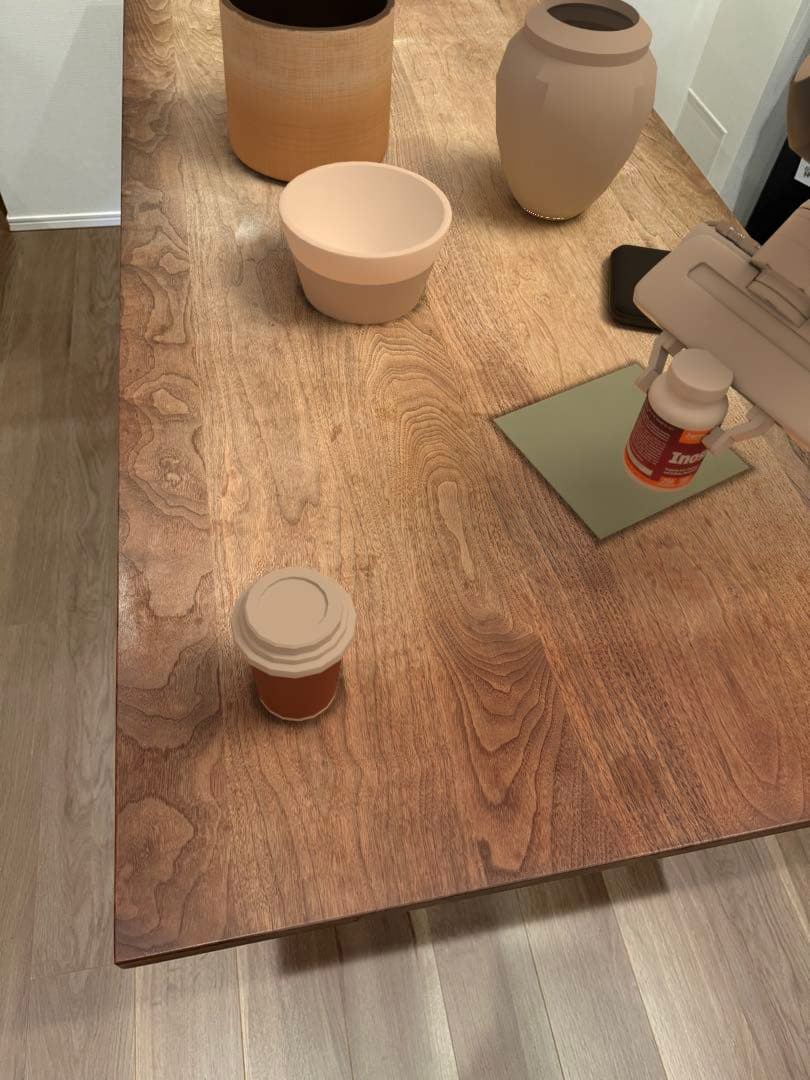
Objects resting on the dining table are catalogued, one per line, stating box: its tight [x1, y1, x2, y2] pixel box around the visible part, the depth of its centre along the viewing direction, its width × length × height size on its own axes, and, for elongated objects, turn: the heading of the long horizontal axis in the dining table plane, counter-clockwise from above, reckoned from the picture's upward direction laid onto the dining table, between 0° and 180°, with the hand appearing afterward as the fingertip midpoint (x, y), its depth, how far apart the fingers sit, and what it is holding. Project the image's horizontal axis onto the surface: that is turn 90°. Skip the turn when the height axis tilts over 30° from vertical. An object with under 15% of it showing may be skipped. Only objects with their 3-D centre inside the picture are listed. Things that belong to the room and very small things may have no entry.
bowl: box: [277, 161, 453, 325], centre depth 100 cm, size 19×19×11 cm
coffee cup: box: [230, 565, 358, 722], centre depth 67 cm, size 9×9×12 cm
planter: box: [218, 0, 396, 184], centre depth 116 cm, size 22×22×20 cm
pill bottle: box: [623, 349, 733, 493], centre depth 70 cm, size 6×6×11 cm
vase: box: [495, 0, 658, 221], centre depth 109 cm, size 20×20×24 cm
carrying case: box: [608, 243, 673, 332], centre depth 106 cm, size 11×3×15 cm
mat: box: [492, 363, 750, 540], centre depth 91 cm, size 20×18×1 cm
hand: (675, 420), depth 69 cm, fingers closed on pill bottle, 6 cm apart
